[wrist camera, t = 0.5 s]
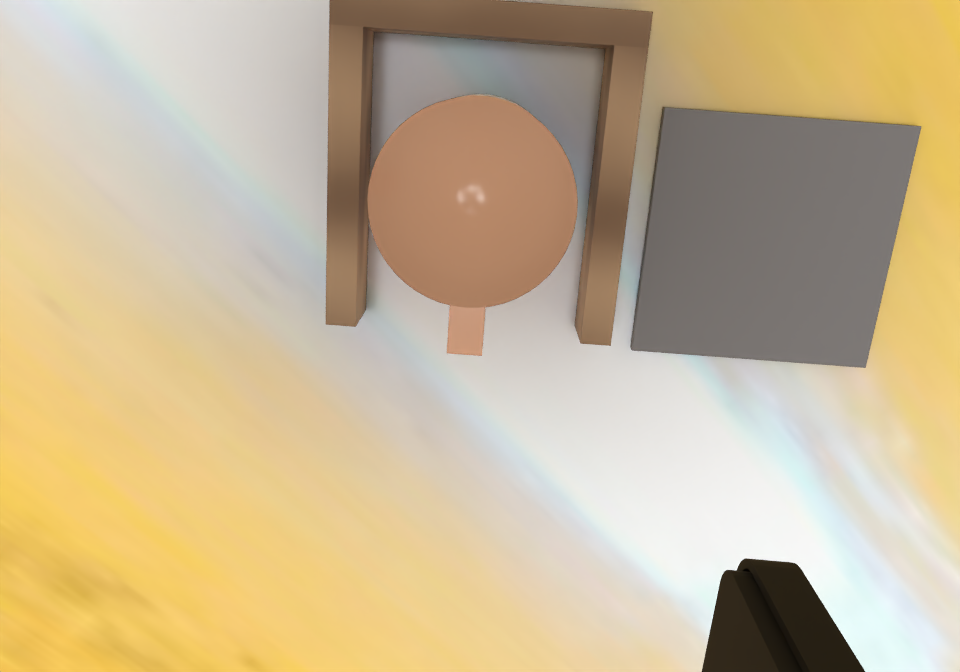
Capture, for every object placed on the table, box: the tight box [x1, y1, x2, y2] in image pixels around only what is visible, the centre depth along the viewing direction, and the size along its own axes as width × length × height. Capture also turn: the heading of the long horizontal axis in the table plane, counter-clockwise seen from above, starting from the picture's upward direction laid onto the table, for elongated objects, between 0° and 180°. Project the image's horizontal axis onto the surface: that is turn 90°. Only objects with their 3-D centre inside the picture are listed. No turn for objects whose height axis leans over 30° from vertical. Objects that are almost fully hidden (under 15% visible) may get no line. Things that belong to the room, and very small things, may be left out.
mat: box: [631, 107, 921, 368], centre depth 32 cm, size 10×10×1 cm
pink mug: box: [367, 94, 578, 356], centre depth 28 cm, size 8×6×10 cm
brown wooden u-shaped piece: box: [326, 0, 653, 346], centre depth 31 cm, size 12×11×2 cm
